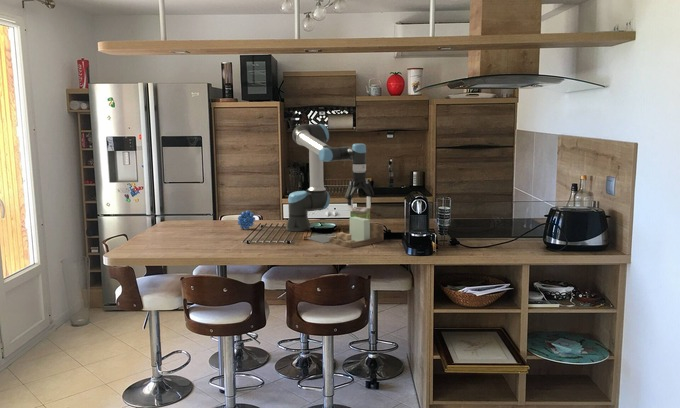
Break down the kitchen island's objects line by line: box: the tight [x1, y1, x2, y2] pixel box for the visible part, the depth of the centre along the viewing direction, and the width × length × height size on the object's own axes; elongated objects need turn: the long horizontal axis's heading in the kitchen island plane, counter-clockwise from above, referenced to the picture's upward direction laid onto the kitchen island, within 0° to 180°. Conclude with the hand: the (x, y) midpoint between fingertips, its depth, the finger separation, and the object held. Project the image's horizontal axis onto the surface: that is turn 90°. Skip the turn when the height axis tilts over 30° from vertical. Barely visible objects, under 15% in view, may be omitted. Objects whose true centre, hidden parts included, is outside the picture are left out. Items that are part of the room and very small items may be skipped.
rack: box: [328, 221, 384, 249], centre depth 315 cm, size 18×25×9 cm
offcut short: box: [337, 232, 351, 241], centre depth 311 cm, size 8×3×3 cm, turn 41°
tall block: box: [349, 216, 371, 242], centre depth 317 cm, size 12×4×13 cm, turn 40°
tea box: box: [349, 206, 371, 220], centre depth 338 cm, size 15×10×15 cm, turn 168°
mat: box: [305, 234, 333, 244], centre depth 322 cm, size 16×12×1 cm
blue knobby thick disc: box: [237, 209, 256, 230], centre depth 352 cm, size 12×7×12 cm, turn 79°
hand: (359, 209), depth 314 cm, fingers open, 13 cm apart
